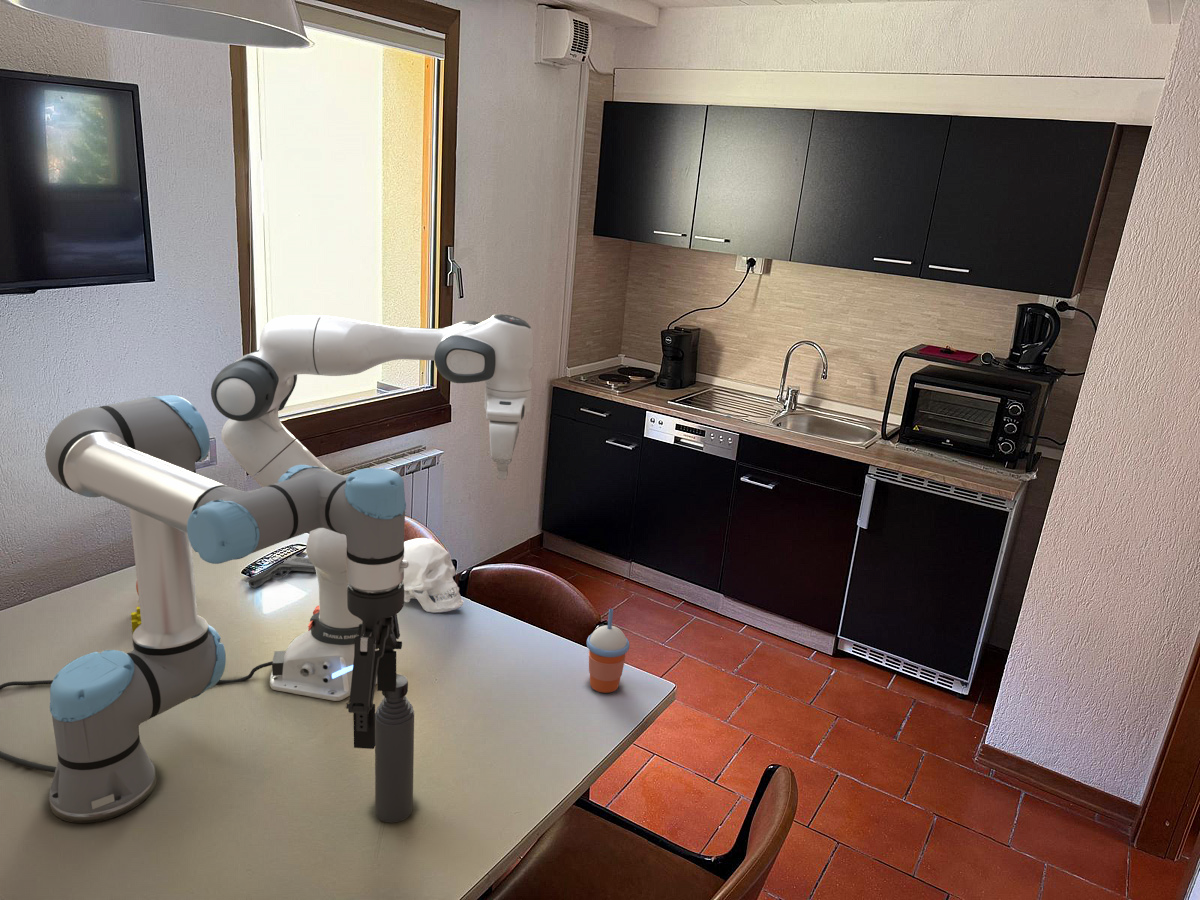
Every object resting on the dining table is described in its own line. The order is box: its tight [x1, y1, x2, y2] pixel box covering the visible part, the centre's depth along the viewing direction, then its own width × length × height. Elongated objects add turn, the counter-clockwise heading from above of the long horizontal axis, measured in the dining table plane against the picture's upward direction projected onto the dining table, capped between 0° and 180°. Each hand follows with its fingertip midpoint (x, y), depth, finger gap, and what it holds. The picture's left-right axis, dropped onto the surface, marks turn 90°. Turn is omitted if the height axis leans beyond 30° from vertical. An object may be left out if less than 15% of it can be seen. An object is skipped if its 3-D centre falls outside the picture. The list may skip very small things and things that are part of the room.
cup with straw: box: [586, 608, 630, 694], centre depth 181 cm, size 9×9×18 cm
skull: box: [403, 537, 465, 614], centre depth 211 cm, size 13×22×16 cm, turn 67°
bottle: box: [374, 695, 415, 823], centre depth 139 cm, size 6×6×24 cm
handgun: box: [248, 554, 316, 588], centre depth 220 cm, size 2×18×12 cm
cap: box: [381, 673, 409, 699], centre depth 136 cm, size 4×4×2 cm
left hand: (376, 717), depth 122 cm, fingers open, 13 cm apart
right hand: (504, 470), depth 166 cm, fingers open, 8 cm apart
